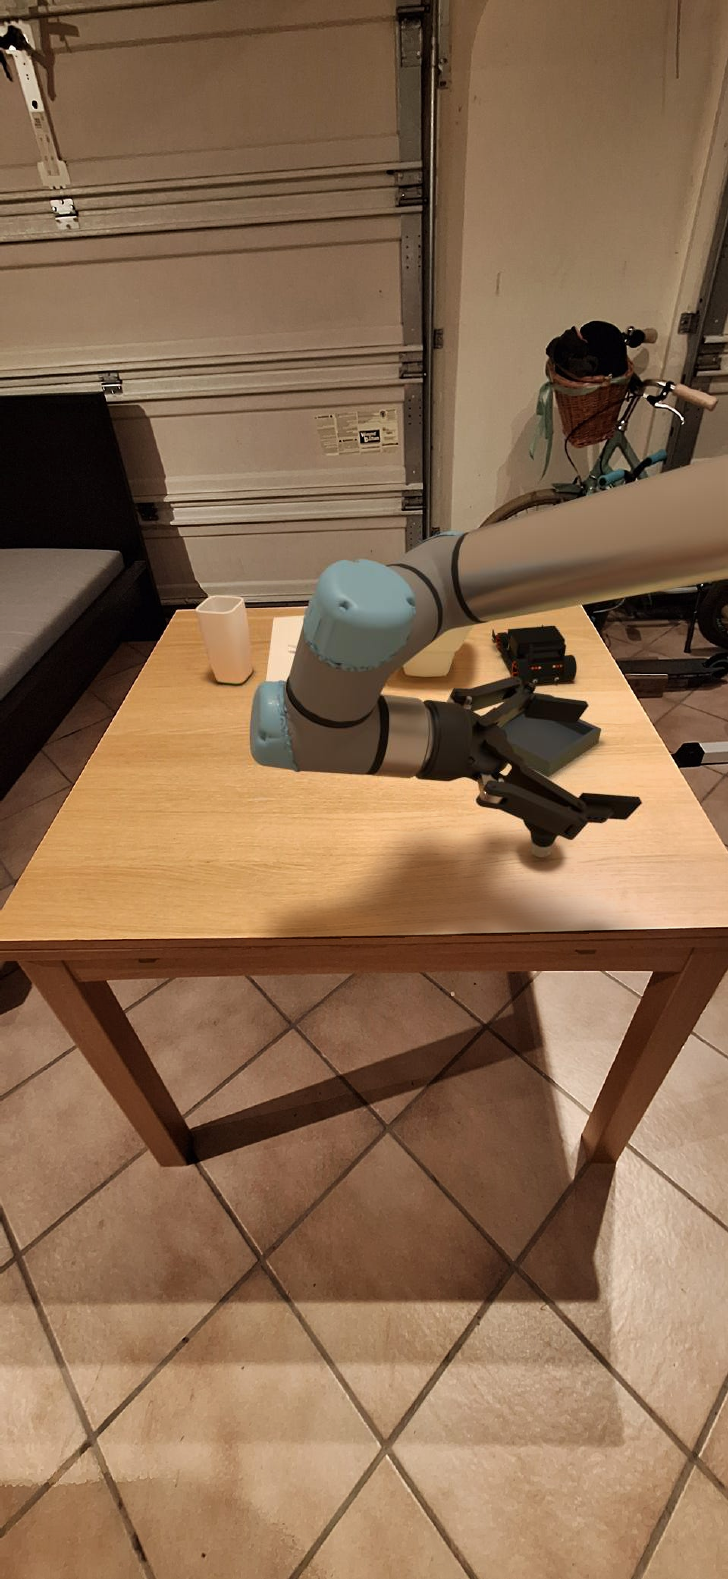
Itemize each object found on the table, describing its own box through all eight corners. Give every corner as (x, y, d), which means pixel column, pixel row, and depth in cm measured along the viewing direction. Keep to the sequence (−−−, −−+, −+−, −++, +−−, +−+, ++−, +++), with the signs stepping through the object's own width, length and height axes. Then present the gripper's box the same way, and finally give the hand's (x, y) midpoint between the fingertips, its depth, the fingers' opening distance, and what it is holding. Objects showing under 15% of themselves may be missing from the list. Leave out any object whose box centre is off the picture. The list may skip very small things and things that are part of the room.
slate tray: (598, 742, 99) (601, 728, 97) (548, 777, 93) (550, 762, 91) (528, 709, 107) (530, 696, 106) (478, 739, 101) (479, 725, 100)
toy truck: (542, 635, 128) (546, 600, 123) (574, 684, 113) (581, 647, 108) (490, 639, 128) (493, 605, 123) (516, 689, 112) (520, 652, 108)
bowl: (371, 694, 114) (367, 621, 105) (385, 645, 129) (382, 577, 120) (476, 697, 111) (480, 623, 102) (478, 647, 126) (482, 578, 117)
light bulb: (573, 863, 79) (586, 803, 73) (532, 877, 78) (542, 817, 72) (547, 834, 84) (557, 774, 77) (507, 846, 82) (515, 787, 76)
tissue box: (273, 727, 107) (263, 669, 100) (279, 658, 127) (271, 606, 120) (358, 720, 107) (354, 662, 100) (351, 652, 127) (347, 600, 120)
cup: (226, 667, 125) (210, 594, 116) (259, 670, 123) (246, 596, 114) (209, 685, 120) (191, 611, 110) (244, 689, 118) (229, 613, 108)
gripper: (382, 681, 70) (547, 702, 76) (433, 873, 54) (634, 878, 61) (404, 625, 64) (579, 653, 71) (468, 821, 49) (684, 832, 55)
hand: (605, 757), depth 66 cm, fingers open, 13 cm apart
